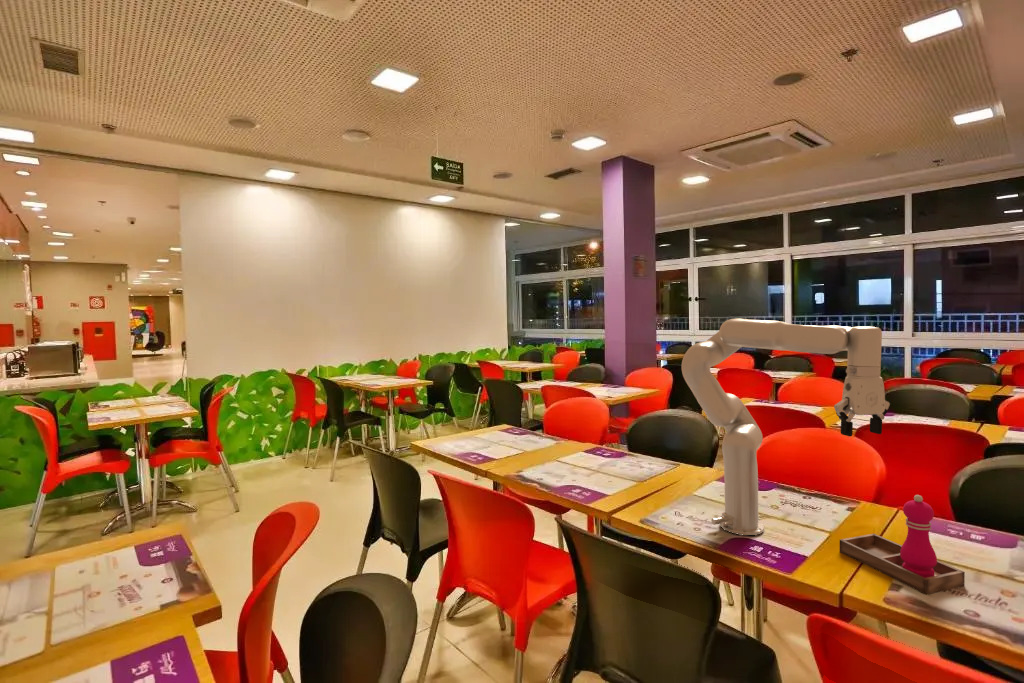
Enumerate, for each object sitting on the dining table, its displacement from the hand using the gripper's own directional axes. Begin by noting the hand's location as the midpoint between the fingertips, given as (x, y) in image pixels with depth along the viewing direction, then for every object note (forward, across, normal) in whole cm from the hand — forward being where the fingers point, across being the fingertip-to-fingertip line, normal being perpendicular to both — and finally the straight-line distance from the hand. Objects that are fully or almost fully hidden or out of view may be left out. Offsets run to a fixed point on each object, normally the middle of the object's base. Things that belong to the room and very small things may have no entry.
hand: (861, 434), depth 143 cm
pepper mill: (+32, +1, -16) cm, 36 cm away
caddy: (+32, +1, -11) cm, 34 cm away
